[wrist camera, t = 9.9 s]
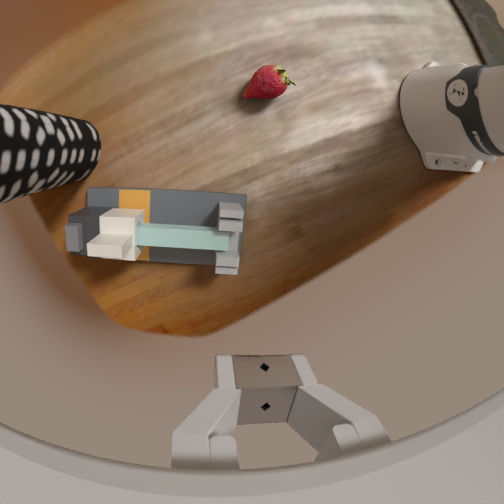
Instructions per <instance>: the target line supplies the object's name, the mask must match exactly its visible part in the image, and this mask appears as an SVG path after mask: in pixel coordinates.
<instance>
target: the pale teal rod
mask: <svg viewBox="0 0 504 504" xmlns="http://www.w3.org/2000/svg"><path fill="white" fill-rule="evenodd" d="M229 234H230V232H229V231H219V229H218V227H205V226H189V225H172V224H153V223H138V224H137V245H142V246H158V247H174V248H191V249H207V250H223V251H228V245H229Z"/></svg>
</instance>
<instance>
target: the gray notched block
mask: <svg viewBox="0 0 504 504" xmlns="http://www.w3.org/2000/svg"><path fill="white" fill-rule="evenodd" d="M243 215H244V210H243V209H242V207H241V205H240V204H239V203H228V202H219V209H218V221H217V227H218V229H219V231H229V232H230V234H229V245H228V251H223V250H215V274H233V275H237V273H238V267H239V259H240V258H239V254H238V241H239V232H242V230H243V221H242V219H243Z"/></svg>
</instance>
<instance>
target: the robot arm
mask: <svg viewBox="0 0 504 504" xmlns="http://www.w3.org/2000/svg"><path fill="white" fill-rule="evenodd" d="M400 108H401V114H402V118H403V121H404V124H405V127H406V129H407V131H408V133H409V135H410V137H411V138H412V140H413V141H414V143H415V144H416V146H417V147H418V149H419V150H420V153H421V156H422V160H423V163H424V165H425V167H426V168H427V169H436V170H452V171H465V172H479V171H480V169H481V167H482V165H483V162H488V163H493V162H494V161H495V160H496V158H497V157H500V156H504V65H503V66H496V67H491V66H489V65H473V66H471V67H468V66H467V65H466V64H464V63H456V64H447V65H439V64H438V63H437V62H435V61H433V62H428V63H427V64H426V65H425V67H424V68H423V69H421V70H417V71H414V72H412V73H410V74H409V75H408V76H407V77H406V79H405V80H404V82H403V84H402V88H401V92H400ZM435 161H436V163H435ZM214 371H215V372H214V389H212V390H211V391H210V393H209V394H208V395H207V396H206V397H205V398H204V399H203V401H202V402H201V403H200V404H199V405H198V406H197V407H196V408H195V409H194V410H193V412H192V413H191V414H190V415H189V416H188V417H187V418H186V419H185V420H184V421H183V422H182V424H181V425H180V426H179V427H178V428H177V429H176V430H175V431H174V432H173V440H172V458H171V468H164V467H155V466H147V465H140V464H134V463H127V462H122V461H116V460H111V459H107V458H102V457H97V456H93V455H89V454H86V453H82V452H78V451H74V450H71V449H68V448H64V447H61V446H58V445H55V444H52V443H49V442H46V441H43V440H41V439H38V438H35V437H33V436H30V435H28V434H25V433H23V432H21V431H18V430H16V429H14V428H12V427H9V426H7V425H5V424H3V423H1V422H0V504H504V388H503V389H501V390H499V391H498V392H496V393H495V394H493V395H491V396H490V397H488V398H487V399H485V400H483V401H481V402H479V403H478V404H476V405H474V406H472V407H470V408H469V409H467V410H465V411H463V412H461V413H459V414H457V415H455V416H453V417H451V418H449V419H447V420H445V421H443V422H440V423H438V424H436V425H434V426H431V427H429V428H427V429H424V430H422V431H419V432H417V433H414V434H411V435H409V436H406V437H403V438H401V439H398V440H395V441H392V442H391V440H390V438H389V437H388V435H387V433H386V431H385V430H384V428H383V426H382V425H381V423H380V421H379V420H378V418H377V416H376V415H374V414H372V413H370V412H369V411H367V410H365V409H363V408H361V407H360V406H358V405H356V404H355V403H353V402H351V401H349V400H348V399H346V398H344V397H343V396H341V395H340V394H338V393H336V392H335V391H333V390H332V389H329V388H328V387H327V386H325V385H323V384H318V382H317V380H316V378H315V376H314V374H313V372H312V369H311V367H310V365H309V363H308V361H307V359H306V357H305V355H304V354H289V355H266V356H261V355H260V356H259V355H220V354H216V356H215V370H214ZM277 422H287V424H288V425H289V426H290V427H291V428H293V429H294V430H295V431H296V432H297V433H298V434H299V435H300V436H301V437H302V438H303V439H304V440H305V441H307V442H308V443H309V444H310V445H311V446H312V447H313V448H315V449H316V450H317V451H318V452H319V454H318V456H317V457H316V459H315V460H314V462H309V463H302V464H295V465H289V466H281V467H280V466H279V467H270V468H258V469H244V470H243V469H241V470H240V468H239V463H238V456H237V449H236V443H235V439H234V438H232V437H231V434H232V433H233V431H234V430H235V428H236V426H237V425H242V424H258V423H277Z"/></svg>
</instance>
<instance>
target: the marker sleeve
mask: <svg viewBox="0 0 504 504" xmlns="http://www.w3.org/2000/svg"><path fill="white" fill-rule="evenodd" d="M99 220H100V234H99V235H97V236H96V237H95V238H93V239H92V240H91V241H90V242H88V243H87V254H88V256H93V257H101V258H103V259H117V260H131V261H135V260H136V259H137V257H138V256H139V255H140V253H141V252H142V250H143V249H144V246H142V245H137V224H138V223H145V209H122V208H113V209H111V210H109V211H108V212H106V213H104V214H103V215H101V216H99Z"/></svg>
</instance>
